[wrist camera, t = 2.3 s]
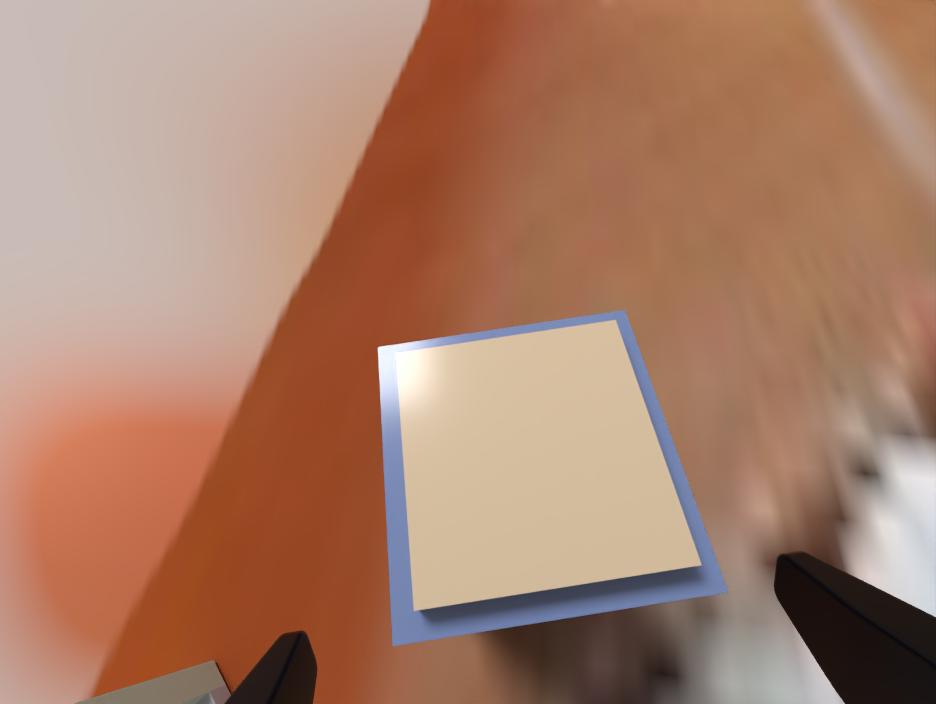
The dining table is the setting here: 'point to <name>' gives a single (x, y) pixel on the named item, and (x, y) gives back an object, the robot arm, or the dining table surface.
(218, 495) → the dining table surface
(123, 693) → the tray
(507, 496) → the blue beige tall block
